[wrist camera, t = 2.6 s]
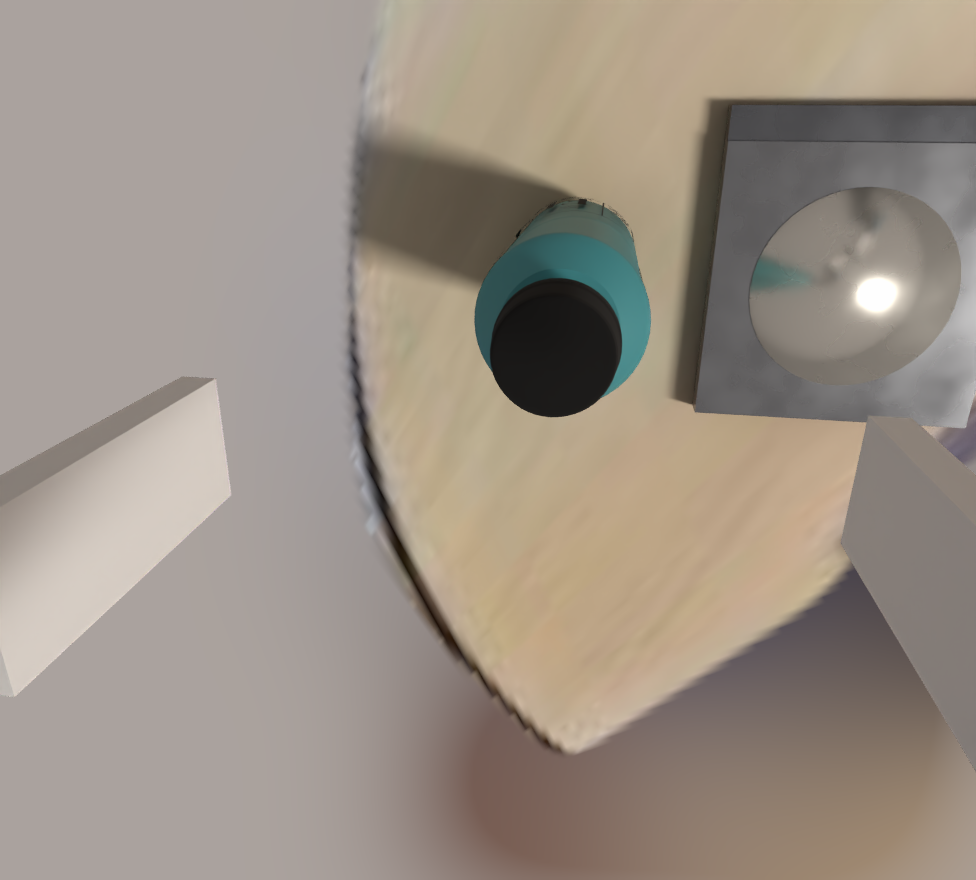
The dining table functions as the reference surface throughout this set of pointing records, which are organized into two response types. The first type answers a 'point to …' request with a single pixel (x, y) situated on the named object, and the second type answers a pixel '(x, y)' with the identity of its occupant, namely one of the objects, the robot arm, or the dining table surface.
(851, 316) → the motor plate
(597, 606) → the dining table surface
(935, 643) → the robot arm
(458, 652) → the dining table surface
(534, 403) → the beverage bottle
